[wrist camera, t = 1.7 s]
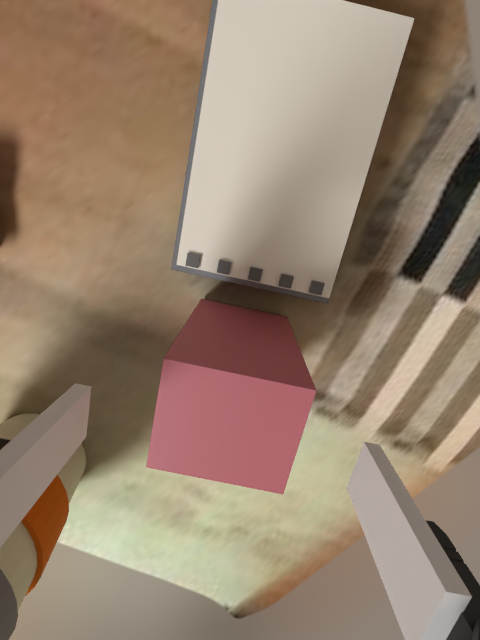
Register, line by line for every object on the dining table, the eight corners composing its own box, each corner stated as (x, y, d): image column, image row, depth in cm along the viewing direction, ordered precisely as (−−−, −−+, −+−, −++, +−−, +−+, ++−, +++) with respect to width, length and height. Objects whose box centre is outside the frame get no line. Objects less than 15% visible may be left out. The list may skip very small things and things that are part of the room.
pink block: (201, 298, 26) (163, 358, 14) (286, 317, 26) (316, 390, 15) (189, 365, 28) (146, 467, 16) (269, 382, 28) (283, 494, 16)
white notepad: (216, 5, 21) (206, -64, 16) (397, 50, 21) (442, -4, 16) (175, 266, 25) (157, 277, 20) (323, 299, 26) (340, 317, 21)
